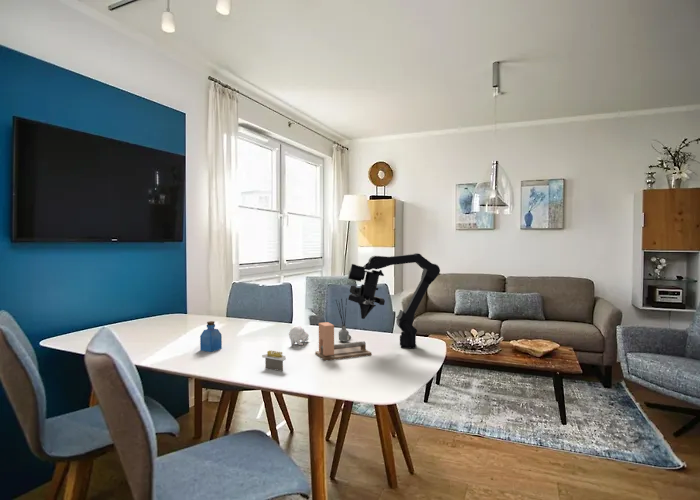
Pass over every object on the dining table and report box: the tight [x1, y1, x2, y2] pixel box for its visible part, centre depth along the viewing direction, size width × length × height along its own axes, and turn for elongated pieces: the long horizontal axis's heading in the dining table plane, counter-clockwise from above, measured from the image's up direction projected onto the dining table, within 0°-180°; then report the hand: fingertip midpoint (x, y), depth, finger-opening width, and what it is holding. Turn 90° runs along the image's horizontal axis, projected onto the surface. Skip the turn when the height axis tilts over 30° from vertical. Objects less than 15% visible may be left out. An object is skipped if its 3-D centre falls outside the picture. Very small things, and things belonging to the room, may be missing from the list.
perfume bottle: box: [199, 320, 223, 353], centre depth 183 cm, size 6×6×12 cm
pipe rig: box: [314, 340, 372, 362], centre depth 174 cm, size 20×11×5 cm, turn 114°
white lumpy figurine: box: [288, 325, 309, 346], centre depth 193 cm, size 6×8×12 cm
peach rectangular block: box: [318, 321, 335, 356], centre depth 171 cm, size 4×7×12 cm, turn 24°
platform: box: [261, 350, 287, 372], centre depth 155 cm, size 12×18×7 cm, turn 61°
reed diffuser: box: [335, 298, 352, 342], centre depth 197 cm, size 10×7×20 cm
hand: (362, 318), depth 185 cm, fingers closed
